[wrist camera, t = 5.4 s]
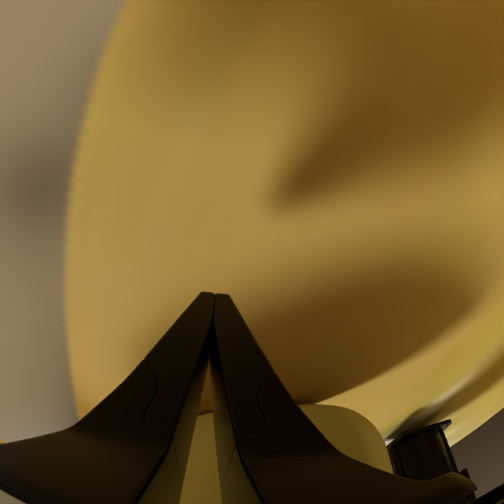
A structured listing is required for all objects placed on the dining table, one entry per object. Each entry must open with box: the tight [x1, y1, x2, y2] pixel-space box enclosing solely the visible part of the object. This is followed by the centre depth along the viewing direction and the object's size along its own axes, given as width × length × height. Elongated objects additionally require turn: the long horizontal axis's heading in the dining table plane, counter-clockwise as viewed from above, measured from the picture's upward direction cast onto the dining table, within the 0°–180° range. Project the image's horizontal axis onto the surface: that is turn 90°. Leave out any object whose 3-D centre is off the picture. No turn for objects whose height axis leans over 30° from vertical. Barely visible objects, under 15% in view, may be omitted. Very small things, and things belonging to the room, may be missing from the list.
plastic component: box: [179, 404, 393, 504], centre depth 13 cm, size 20×7×10 cm, turn 117°
